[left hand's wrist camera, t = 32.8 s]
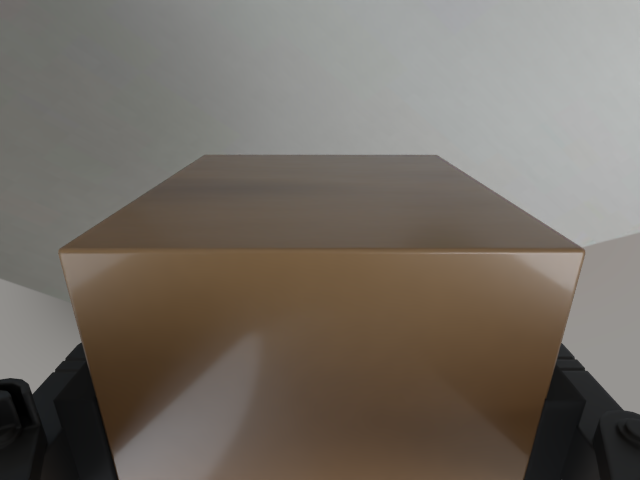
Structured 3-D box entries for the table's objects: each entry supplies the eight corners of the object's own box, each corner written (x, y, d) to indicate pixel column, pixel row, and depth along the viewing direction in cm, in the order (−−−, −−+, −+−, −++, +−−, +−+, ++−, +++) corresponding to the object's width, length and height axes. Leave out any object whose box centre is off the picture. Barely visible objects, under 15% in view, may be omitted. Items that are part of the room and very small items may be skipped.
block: (415, 358, 18) (496, 591, 10) (225, 358, 18) (145, 592, 10) (438, 154, 15) (589, 249, 6) (203, 154, 15) (54, 249, 6)
